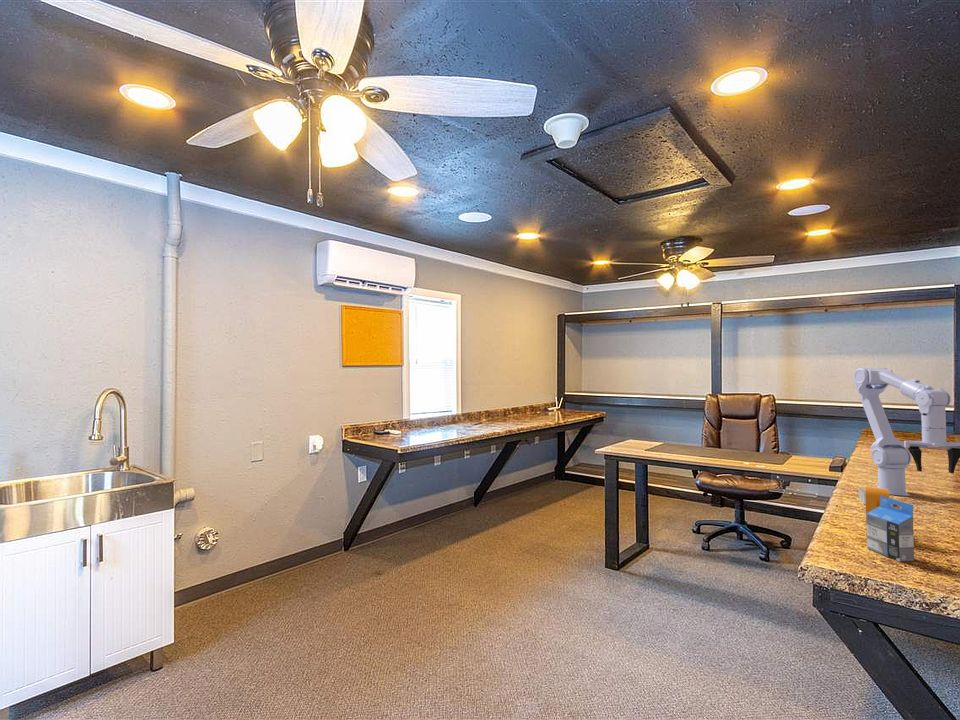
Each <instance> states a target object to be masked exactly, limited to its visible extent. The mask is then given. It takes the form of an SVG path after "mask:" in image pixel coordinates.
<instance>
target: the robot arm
mask: <svg viewBox="0 0 960 720" xmlns="http://www.w3.org/2000/svg"><path fill="white" fill-rule="evenodd" d="M852 380H853V382H854V385H855V387H856V391H857V393H858V396H859V398H860V402H861V404H862V407H863V410H864V412H865V415H866V417H867V420H868V423H869V425H870V428H871V431H872V433H873V436H874V439H875V441H874V442H873V443H872V444H871V445H870V452H871V460H872V461H873V463H874V464H875V466H876V467H878V468H877V469H878V470H877V487H874V488H881V489H889V496H903V497H910V496H911V495H910V494H909V493H908V492H907V490H906V489H907V487H906V469H908V466H909V465H910V464H911V462H912V458H913V461H914V465H915V467H916V470H917V471H918V472H923V466H922V454H923V453H922V449H938V450H940V449H941V450H946V452H947V459H948V474H949V473H950V474H955V469H956V466H957V463H958V461H959V460H960V442H952V441H951V442H950V441H947V419H946V417H947V416H946V408H947V407H948V406H949V405H950V403H951V401H952V400H951V395H950V394H949V392H948V391H946V390H945V389H943V388H938V389H935V388H933V387H932V386H931V385H927V384H924V383H922V382H921V380H920V379H916V378H913V379H905V378H903V377H901V376H900V375H899V374H896V373H895V372H893V369H890V368H887V367H870V368H869V367H859V368H857V369H856V370H855V371H854V374H853V377H852ZM888 386H892V387H894V388H896V389H899V390H900V391H899V392H900V393H901V395H903V396H905V397H907V398H910V399H911V400H913V401H915V403H916V404H917V406H918V411H919V413H920V414H921V415H920V418H921V440H904V441H902V440H899V439H898V438H896V437H895V434H894V433H893V430H892V427H891V424H890V422H889V420H888V416H887V415H886V412H885V409H884V407H883V404H882V402H881V398H880V394H881V393H882V394H883V393H884V391H885V390H886V389H887V388H888Z"/></svg>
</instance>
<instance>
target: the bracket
mask: <svg viewBox="0 0 960 720" xmlns="http://www.w3.org/2000/svg"><path fill="white" fill-rule="evenodd" d="M865 491H866V505H865V515H866V514H867V513H868V512H870V511H872V510H874V509H876V508H877V507H879V506H880V496H883V497H887V498H890V495H889V489H881V488H878V487H877V488H875V487H870V486H869V487H868V486H865ZM865 526H866V528H865V529H866V534H867V523H866V522H865Z"/></svg>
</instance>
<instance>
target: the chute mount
mask: <svg viewBox="0 0 960 720" xmlns="http://www.w3.org/2000/svg"><path fill="white" fill-rule="evenodd" d="M858 499H859V500H860V501H862V502H863V503H864V504H865V505H864V504H863V503H862V502H861V503H862V504H863V505H864V506H866V489H865V488H863V487H858ZM891 507H894V506H893V504H891Z"/></svg>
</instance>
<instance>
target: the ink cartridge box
mask: <svg viewBox="0 0 960 720" xmlns="http://www.w3.org/2000/svg"><path fill="white" fill-rule="evenodd" d="M891 504H892V505H897V506H898V507H900V508H897V507H894V506H893V507H891ZM866 523H867V533H866V545H867V547H866V548H867V549H868V550H870V551H873V552H874V553H875V552H876V553H878V554H880V555H883V556H885V557H888V558H890V559H892V560H894V561H897V562H900V563H908V562H909V563H910V562H911V563H912V562H914V561H915V545H914V544H915V542H914V538H915V537H914V504H912V503H911V504H910V503H908V502H903V501H900V500H897V499H893V498H890V497H889V498H887V497H883V496H880V506H879V507H877V508H876V509H874V510H872V511H870V512H868V513H867V514H866V513H865V524H866Z"/></svg>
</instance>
